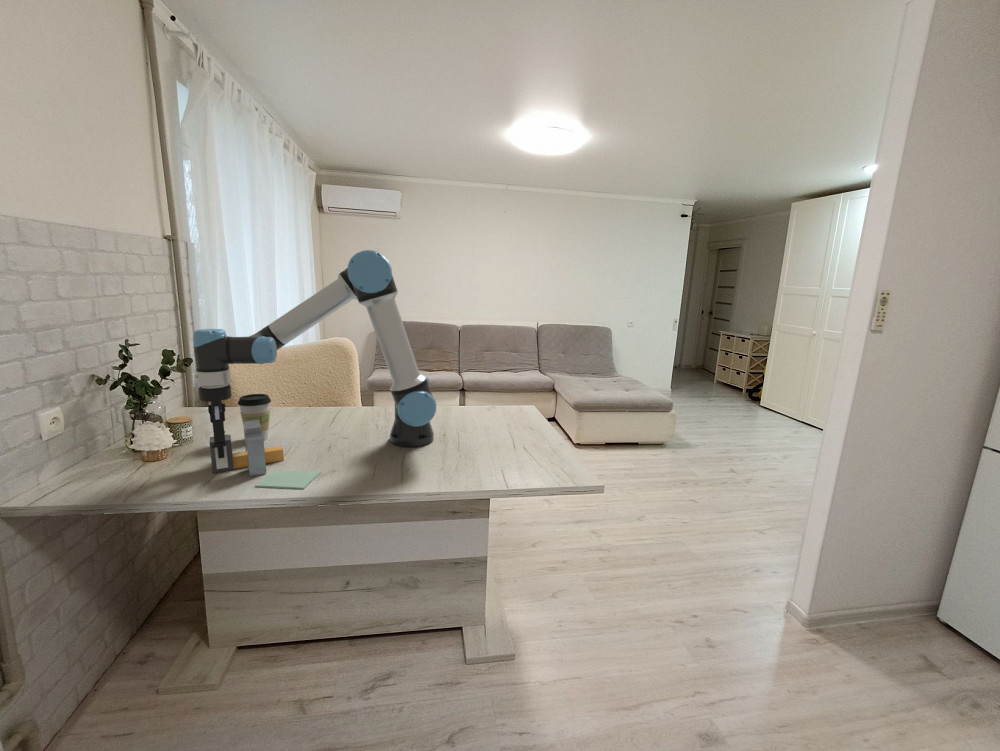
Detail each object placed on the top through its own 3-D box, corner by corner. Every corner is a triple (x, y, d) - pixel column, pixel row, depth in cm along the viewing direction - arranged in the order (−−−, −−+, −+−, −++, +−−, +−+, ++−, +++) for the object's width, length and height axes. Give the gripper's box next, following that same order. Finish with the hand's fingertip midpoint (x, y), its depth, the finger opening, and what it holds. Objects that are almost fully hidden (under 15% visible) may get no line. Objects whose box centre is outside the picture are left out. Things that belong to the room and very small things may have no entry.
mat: (320, 473, 122) (320, 471, 122) (303, 489, 112) (303, 487, 112) (275, 471, 123) (275, 469, 123) (255, 486, 113) (255, 485, 113)
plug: (282, 455, 134) (280, 428, 132) (284, 461, 130) (282, 432, 128) (212, 466, 124) (209, 437, 122) (212, 473, 120) (209, 442, 118)
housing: (260, 450, 137) (257, 414, 135) (266, 473, 121) (263, 433, 118) (245, 452, 135) (242, 416, 133) (249, 476, 119) (246, 435, 116)
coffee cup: (259, 445, 142) (255, 401, 139) (233, 442, 143) (229, 399, 140) (280, 435, 151) (277, 394, 148) (255, 433, 153) (252, 392, 150)
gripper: (199, 380, 124) (207, 456, 128) (196, 393, 109) (206, 478, 114) (229, 378, 128) (236, 451, 133) (231, 390, 113) (239, 473, 118)
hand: (222, 464), depth 123 cm, fingers closed on plug, 5 cm apart
